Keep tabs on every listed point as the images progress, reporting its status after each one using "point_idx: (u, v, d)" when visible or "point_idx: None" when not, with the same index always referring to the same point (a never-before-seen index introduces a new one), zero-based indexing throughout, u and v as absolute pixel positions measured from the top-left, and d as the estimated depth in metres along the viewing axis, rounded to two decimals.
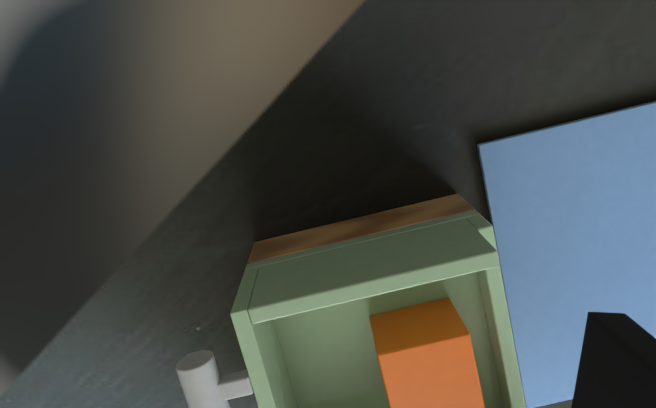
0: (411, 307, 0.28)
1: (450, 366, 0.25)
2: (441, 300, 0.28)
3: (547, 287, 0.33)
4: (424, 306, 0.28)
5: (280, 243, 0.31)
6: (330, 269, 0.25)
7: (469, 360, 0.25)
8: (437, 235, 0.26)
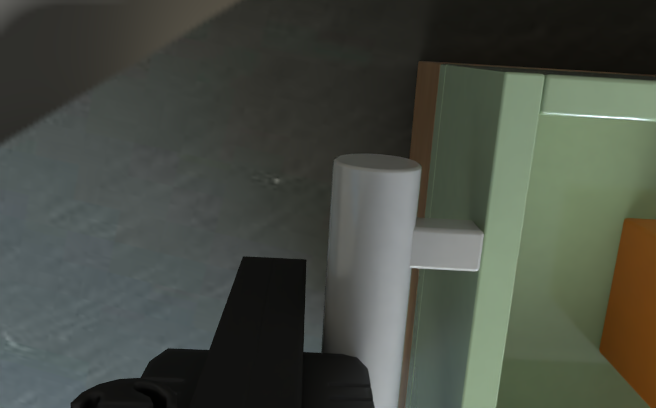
0: None
1: None
2: None
3: None
4: None
5: None
6: None
7: None
8: None
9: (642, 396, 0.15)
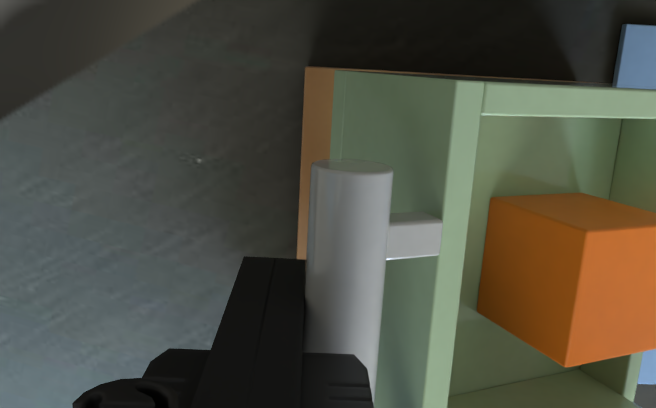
0: (545, 195, 0.20)
1: (655, 266, 0.17)
2: (577, 194, 0.20)
3: None
4: (563, 196, 0.20)
5: (347, 68, 0.23)
6: None
7: None
8: None
9: (526, 341, 0.18)
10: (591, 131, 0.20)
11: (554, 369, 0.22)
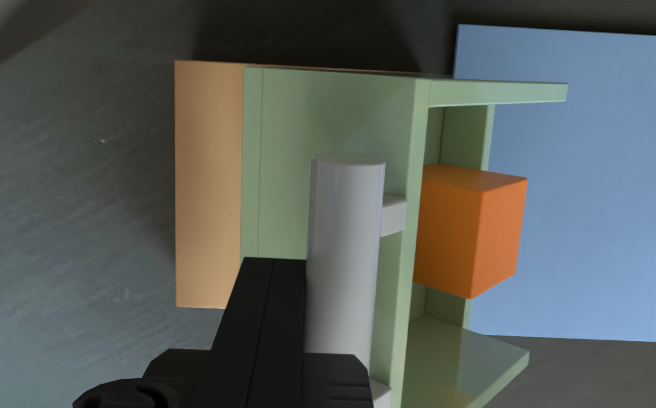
0: None
1: (513, 213, 0.23)
2: (438, 164, 0.25)
3: None
4: (433, 167, 0.24)
5: None
6: None
7: (521, 209, 0.23)
8: (464, 76, 0.22)
9: (433, 286, 0.22)
10: None
11: (409, 318, 0.26)
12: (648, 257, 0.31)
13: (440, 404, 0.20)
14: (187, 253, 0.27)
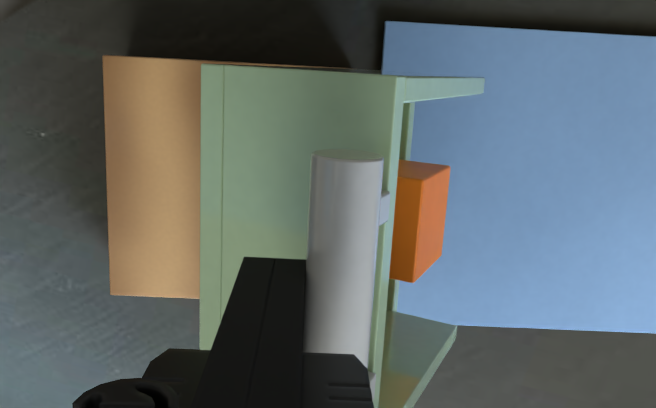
0: None
1: (441, 199, 0.24)
2: None
3: None
4: None
5: None
6: None
7: (446, 195, 0.25)
8: None
9: None
10: None
11: None
12: (576, 248, 0.32)
13: (395, 384, 0.21)
14: (119, 242, 0.28)
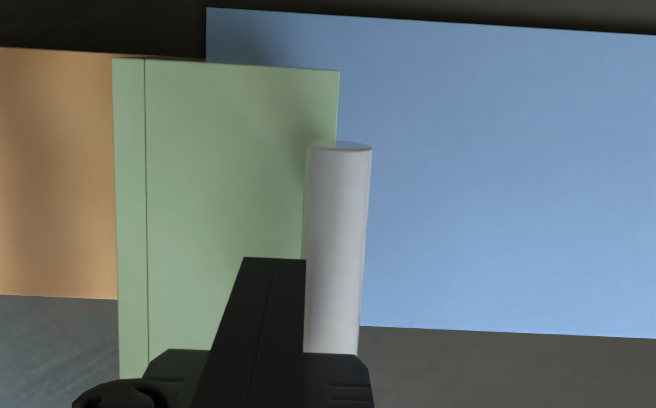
0: None
1: None
2: None
3: None
4: None
5: None
6: None
7: None
8: None
9: None
10: None
11: None
12: (418, 243, 0.31)
13: None
14: None
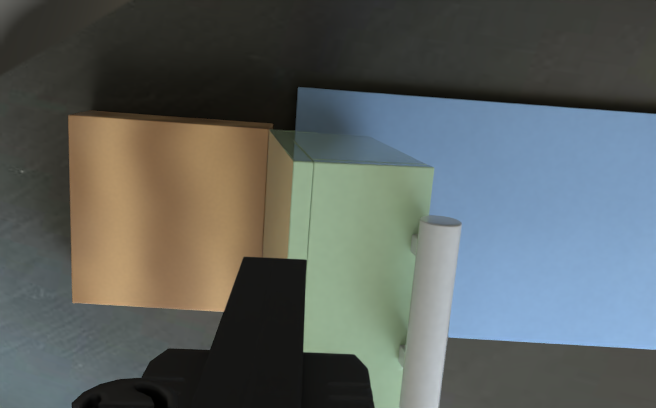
0: None
1: None
2: None
3: None
4: None
5: (108, 114, 0.36)
6: (358, 150, 0.28)
7: None
8: (317, 136, 0.32)
9: None
10: None
11: None
12: (456, 270, 0.39)
13: None
14: (80, 261, 0.36)
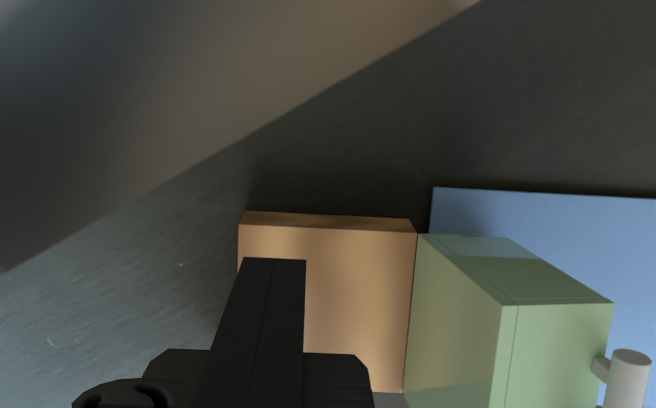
0: None
1: None
2: None
3: None
4: None
5: (266, 217, 0.39)
6: (527, 272, 0.32)
7: None
8: (469, 244, 0.36)
9: None
10: None
11: None
12: None
13: None
14: None
